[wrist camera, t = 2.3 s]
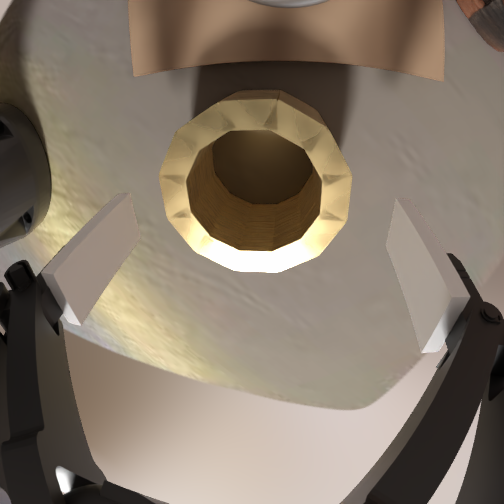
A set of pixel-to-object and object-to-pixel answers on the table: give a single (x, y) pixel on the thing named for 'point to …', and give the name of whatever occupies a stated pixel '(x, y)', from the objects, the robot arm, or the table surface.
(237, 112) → the brass ring
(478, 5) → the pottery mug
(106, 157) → the table surface
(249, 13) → the stand
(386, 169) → the table surface
